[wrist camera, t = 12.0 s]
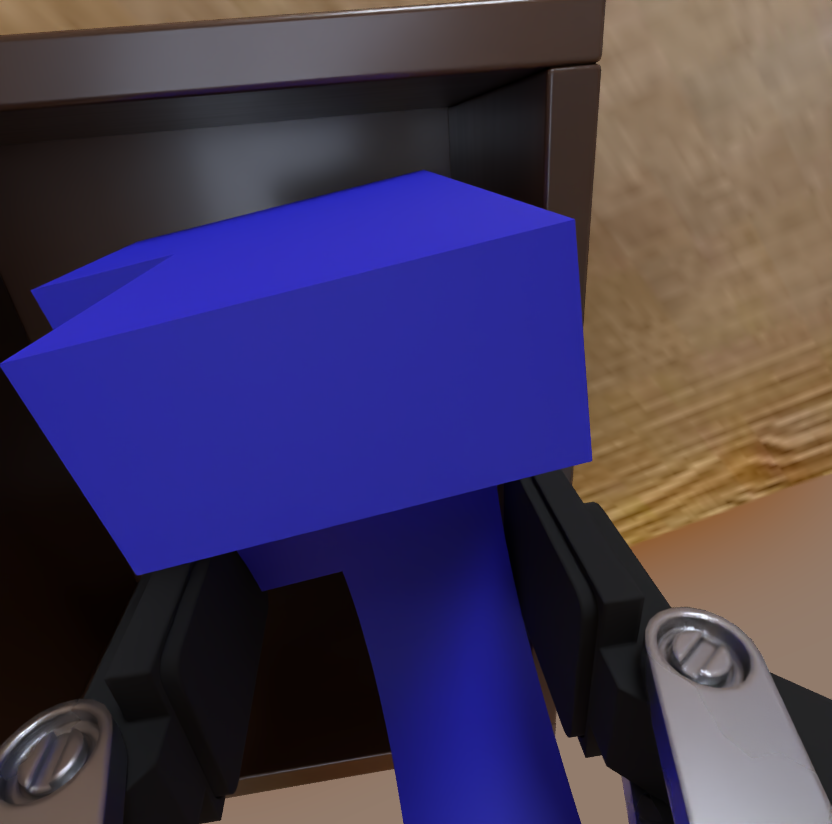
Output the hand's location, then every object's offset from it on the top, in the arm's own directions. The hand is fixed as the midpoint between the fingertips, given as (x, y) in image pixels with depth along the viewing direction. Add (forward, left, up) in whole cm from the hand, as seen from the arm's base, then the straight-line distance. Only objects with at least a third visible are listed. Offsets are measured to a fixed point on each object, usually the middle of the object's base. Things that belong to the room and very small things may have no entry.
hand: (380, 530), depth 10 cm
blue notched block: (0, 0, -1) cm, 1 cm away
